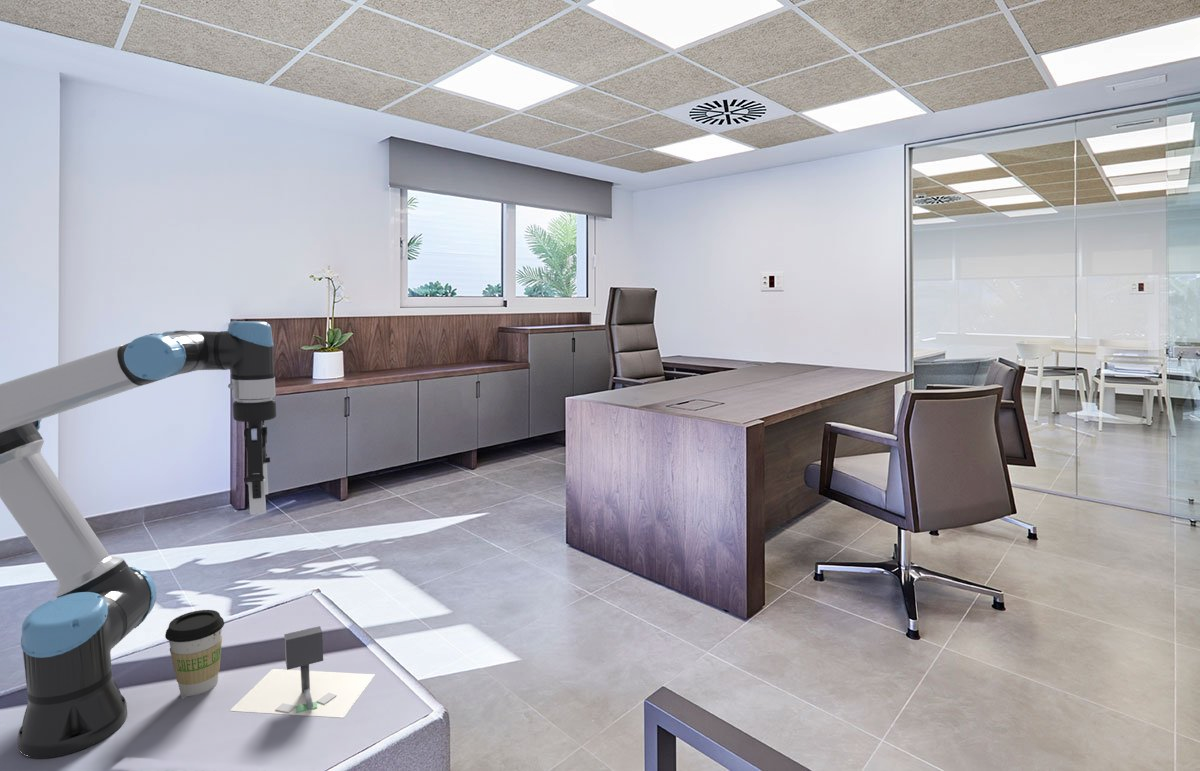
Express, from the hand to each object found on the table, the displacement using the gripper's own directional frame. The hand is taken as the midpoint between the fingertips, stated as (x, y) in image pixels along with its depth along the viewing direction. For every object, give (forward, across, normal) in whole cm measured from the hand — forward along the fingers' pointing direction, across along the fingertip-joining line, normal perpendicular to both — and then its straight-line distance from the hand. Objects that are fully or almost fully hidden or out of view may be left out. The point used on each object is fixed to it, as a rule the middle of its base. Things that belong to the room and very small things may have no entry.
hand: (259, 503), depth 128 cm
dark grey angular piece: (+35, +15, +7) cm, 39 cm away
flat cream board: (+37, +12, +7) cm, 39 cm away
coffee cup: (+37, +1, -12) cm, 39 cm away
